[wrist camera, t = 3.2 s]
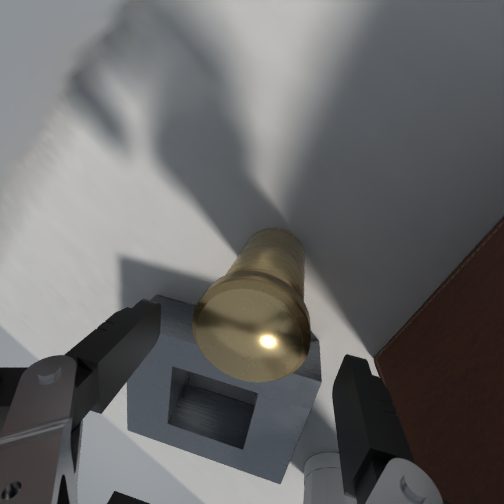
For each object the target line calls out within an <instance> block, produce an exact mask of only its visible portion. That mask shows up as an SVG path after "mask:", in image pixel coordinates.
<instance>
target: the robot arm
mask: <svg viewBox="0 0 504 504" xmlns="http://www.w3.org/2000/svg"><path fill="white" fill-rule="evenodd" d="M160 326H161V304H160V303H157V302H153V301H149V300H145V299H142V300H141V301H140V302H138V303H137V304H136V305H135V306H134V307H133V308H129V307H127V308H125V309H123V310H120V311H118V312H116V313H114V314H113V315H112V316H111V317H110V318H108V319H107V320H106V322H104V323H102V324H101V325H100V326H99V327H98V328H97V329H95V330H94V331H93V332H91V333H90V334H89V335H88V336H87V337H85V338H84V339H83V340H82V341H81V342H79V343H78V344H77V345H76V346H75V347H73V348H72V349H71V350H70V351H69V352H67V353H66V354H65V355H57V356H51V357H47V358H44V359H42V360H39V361H38V362H36V363H34V364H32V365H31V366H30V367H28V368H0V504H77V481H78V469H79V457H80V447H81V437H82V427H83V426H82V425H83V418H84V417H85V416H86V415H87V413H88V412H89V411H90V410H91V411H94V412H97V413H100V414H102V412H103V411H104V410H105V408H106V407H107V406H108V405H109V403H110V402H111V401H112V400H113V398H114V397H115V396H116V394H117V393H118V392H119V391H120V389H121V388H122V387H123V386H124V384H125V383H126V382H127V380H128V379H129V378H130V377H131V375H132V374H133V373H134V372H135V370H136V369H137V368H138V366H139V365H140V364H141V363H142V361H143V360H144V359H145V358H146V356H147V355H148V354H149V352H150V351H151V350H152V349H153V347H154V346H155V345H156V343H157V341H158V338H159V335H160ZM332 398H333V406H334V415H335V423H336V431H337V440H338V448H339V456H340V465H341V473H342V481H343V489H344V495H346V496H349V497H352V498H355V499H356V500H357V504H450V503H449V502H447V501H446V500H445V499H443V498H442V497H441V494H440V493H439V491H438V489H437V487H436V485H435V484H434V482H433V481H432V480H431V479H430V477H429V476H428V475H427V474H426V473H425V472H424V471H423V470H422V469H421V468H419V467H418V466H417V465H416V464H415V461H414V458H413V456H412V453H411V450H410V447H409V445H408V442H407V439H406V436H405V434H404V431H403V428H402V425H401V423H400V420H399V417H397V412H396V409H395V406H393V401H392V398H391V395H390V393H389V390H388V388H387V387H386V386H385V384H384V383H383V382H382V380H381V379H380V378H379V377H377V376H374V375H372V374H371V370H370V367H369V364H368V361H367V360H366V359H363V358H359V357H355V356H351V355H348V354H347V355H345V357H344V359H343V361H342V364H341V366H340V369H339V371H338V374H337V376H336V379H335V381H334V385H333V392H332ZM107 504H149V503H147V502H144V501H141V500H138V499H136V498H133V497H130V496H127V495H124V494H122V493H119V492H116V491H114V493H113V494H112V496H111V498H110V500H109V502H108V503H107Z"/></svg>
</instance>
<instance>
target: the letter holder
mask: <svg viewBox="0 0 504 504" xmlns="http://www.w3.org/2000/svg"><path fill="white" fill-rule="evenodd" d="M374 363H375V366H376V369H377V372H378V374H379V377H380V379H381V380H382V382H383V383H384V384H385V386H386V387H387V388H388V390H389V393H390V395H391V398H392V401H393V406H395V409H396V412H397V417H399V420H400V423H401V425H402V428H403V431H404V434H405V436H406V439H407V442H408V445H409V447H410V450H411V453H412V456H413V458H414V461H415V464H416V465H417V466H418V467H419V468H421V469H422V470H423V471H424V472H425V473H426V474H427V475H428V476H429V477H430V479H431V480H432V481H433V482H434V484H435V485H436V487H437V489H438V491H439V493H440V494H441V497H442V498H443V499H445V500H446V501H447V502H449V503H450V504H504V218H503V219H502V220H501V221H500V222H499V223H498V224H497V225H496V226H495V227H494V229H493V230H492V231H491V232H490V233H489V234H488V235H487V236H486V237H485V238H484V239H483V240H482V241H481V243H480V244H479V245H478V246H477V247H476V248H475V249H474V250H473V251H472V252H471V253H470V254H469V255H468V257H467V258H466V259H465V260H464V261H463V262H462V263H461V264H460V265H459V266H458V267H457V268H456V269H455V271H454V272H453V273H452V274H451V275H450V276H449V277H448V278H447V279H446V280H445V281H444V282H443V284H442V285H441V286H440V287H439V288H438V289H437V290H436V291H435V292H434V294H433V295H432V296H431V297H430V298H429V299H428V300H427V301H426V302H425V303H424V304H423V306H422V307H421V308H420V309H419V310H418V311H417V312H416V313H415V314H414V315H413V316H412V317H411V319H410V320H409V321H408V322H407V323H406V324H405V325H404V326H403V327H402V328H401V330H400V331H399V332H398V333H397V334H396V335H395V336H394V337H393V338H392V339H391V341H390V342H389V343H388V344H387V345H386V346H385V347H384V348H383V349H382V350H381V351H380V352H379V353H378V354H377V355H376V356H375V357H374Z"/></svg>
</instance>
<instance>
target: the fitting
mask: <svg viewBox="0 0 504 504" xmlns="http://www.w3.org/2000/svg"><path fill="white" fill-rule="evenodd" d="M304 274H305V253H304V249H303V247H302V245H301V243H300V242H299V240H298V239H297V238H296V237H295V236H294V235H293V234H291V233H289V232H287V231H285V230H282V229H277V228H269V229H264V230H261V231H259V232H257V233H256V234H254V235H253V236H252V237H251V238H250V240H249V241H248V242H247V244H246V245H245V247H244V248H243V250H242V251H241V253H240V254H239V256H238V257H237V259H236V260H235V262H234V263H233V265H232V266H231V268H230V269H229V271H228V272H227V274H226V275H225V276H223V277H221V278H220V279H218V280H217V281H215V282H214V283H213V284H212V285H211V286H210V287H209V289H208V290H207V291H206V293H205V294H204V295H203V297H202V298H201V300H200V301H199V302H198V304H197V306H196V308H195V310H194V313H193V318H192V329H193V335H194V338H195V341H196V343H197V345H198V347H199V349H200V350H201V352H202V353H203V355H204V356H205V357H206V358H207V359H208V360H209V361H210V362H211V363H212V364H213V365H214V366H215V367H216V368H218V369H219V370H220V371H222V372H223V373H225V374H227V375H229V376H231V377H234V378H236V379H239V380H243V381H248V382H269V381H275V380H278V379H282V378H284V377H286V376H288V375H290V374H292V373H293V372H295V371H296V370H297V369H298V368H299V367H300V366H301V365H302V364H303V362H304V361H305V359H306V357H307V355H308V353H309V349H310V341H311V335H310V317H309V312H308V310H307V307H306V305H305V303H304Z"/></svg>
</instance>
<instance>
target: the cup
mask: <svg viewBox="0 0 504 504" xmlns="http://www.w3.org/2000/svg"><path fill="white" fill-rule="evenodd" d="M304 486H305V488H304V502H303V504H357V500H356V499H355V498H352V497H349V496H346V495H344V489H343V481H342V473H341V465H340V456H339V453H334V452H326V453H319V454H316V455H314V456H312V457H310V458H309V459H308V460H307V461H306V463H305V466H304Z"/></svg>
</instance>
